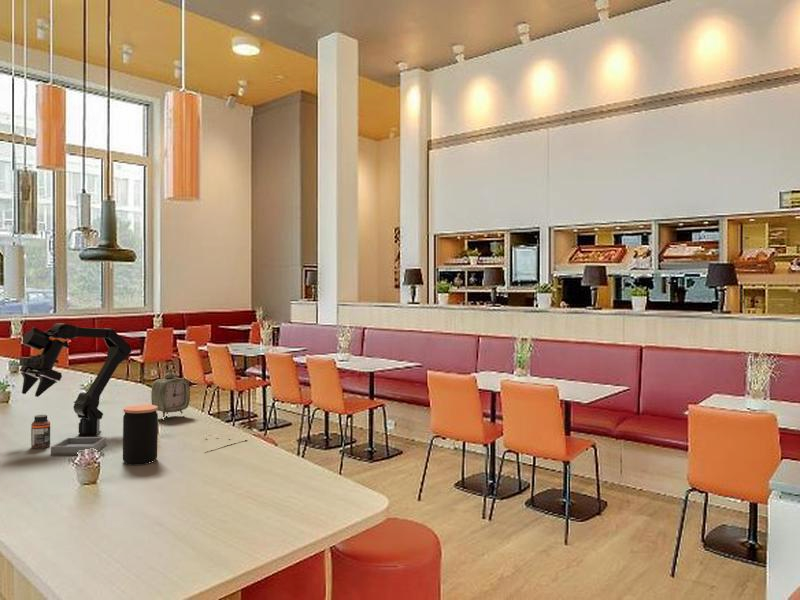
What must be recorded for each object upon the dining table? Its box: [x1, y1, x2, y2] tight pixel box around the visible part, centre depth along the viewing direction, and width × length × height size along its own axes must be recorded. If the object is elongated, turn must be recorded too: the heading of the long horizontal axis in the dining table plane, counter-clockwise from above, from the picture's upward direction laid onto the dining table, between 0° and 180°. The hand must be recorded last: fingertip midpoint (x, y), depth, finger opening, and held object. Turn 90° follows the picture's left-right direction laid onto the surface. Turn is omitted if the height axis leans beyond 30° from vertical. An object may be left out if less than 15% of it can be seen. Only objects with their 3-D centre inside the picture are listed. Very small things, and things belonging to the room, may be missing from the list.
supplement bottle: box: [30, 414, 51, 449], centre depth 222 cm, size 6×6×11 cm
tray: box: [50, 436, 107, 456], centre depth 219 cm, size 14×14×3 cm
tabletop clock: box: [150, 361, 191, 417], centre depth 274 cm, size 14×9×25 cm, turn 148°
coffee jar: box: [122, 404, 159, 465], centre depth 206 cm, size 11×11×18 cm
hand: (29, 395), depth 223 cm, fingers open, 9 cm apart
